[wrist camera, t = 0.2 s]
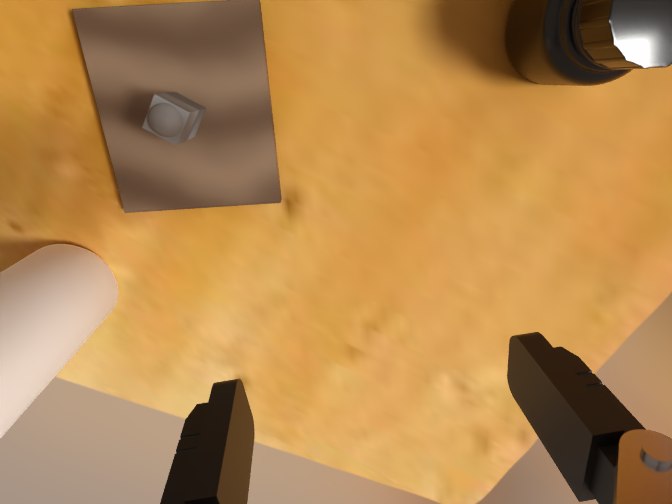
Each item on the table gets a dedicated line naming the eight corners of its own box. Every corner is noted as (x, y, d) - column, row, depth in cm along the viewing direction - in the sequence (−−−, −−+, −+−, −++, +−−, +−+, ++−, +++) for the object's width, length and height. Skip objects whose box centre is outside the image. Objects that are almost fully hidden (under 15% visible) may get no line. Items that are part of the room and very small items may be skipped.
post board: (80, 11, 32) (19, -7, 26) (260, 1, 33) (245, -19, 26) (130, 209, 39) (91, 235, 32) (281, 199, 39) (274, 223, 32)
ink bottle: (591, 91, 36) (712, 97, 25) (493, 88, 36) (571, 93, 25) (624, -41, 33) (782, -102, 22) (515, -46, 32) (618, -111, 21)
